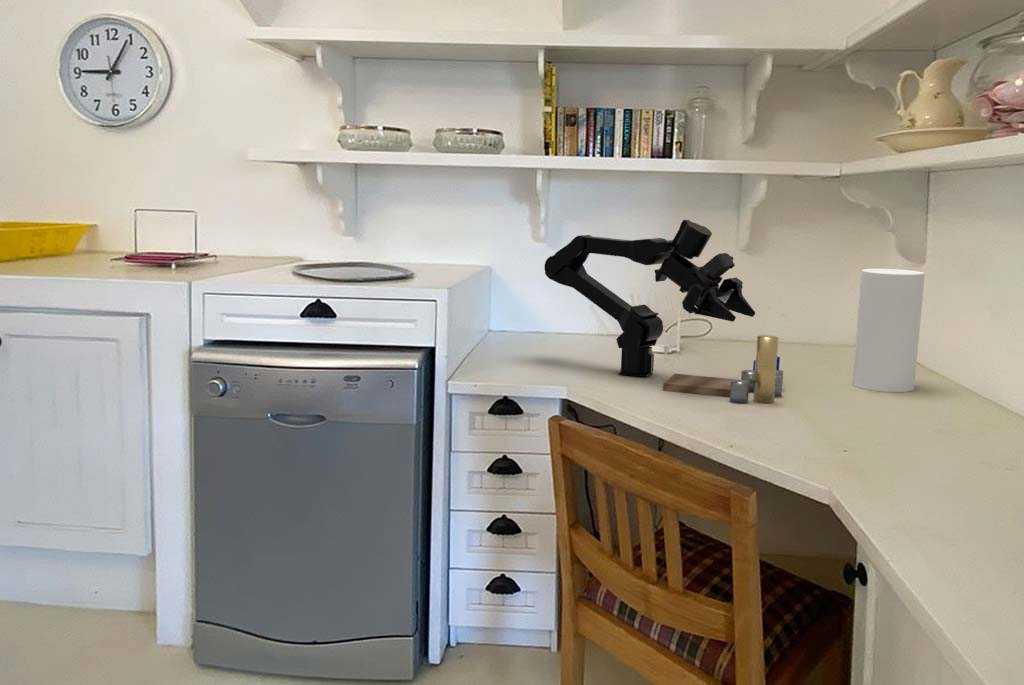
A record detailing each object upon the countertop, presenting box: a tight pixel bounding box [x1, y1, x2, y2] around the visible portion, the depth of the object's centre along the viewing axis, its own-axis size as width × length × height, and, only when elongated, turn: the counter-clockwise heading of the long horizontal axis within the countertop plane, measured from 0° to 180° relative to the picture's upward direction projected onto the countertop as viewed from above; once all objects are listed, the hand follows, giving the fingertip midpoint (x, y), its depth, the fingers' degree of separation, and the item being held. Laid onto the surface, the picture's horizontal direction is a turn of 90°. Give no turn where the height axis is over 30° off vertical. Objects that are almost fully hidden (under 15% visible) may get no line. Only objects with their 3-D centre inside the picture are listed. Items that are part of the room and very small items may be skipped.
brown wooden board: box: [662, 373, 739, 398], centre depth 194 cm, size 14×11×2 cm
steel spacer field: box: [729, 369, 784, 404], centre depth 189 cm, size 9×18×4 cm, turn 158°
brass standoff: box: [752, 334, 779, 404], centre depth 183 cm, size 4×4×13 cm
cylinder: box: [852, 268, 926, 393], centre depth 198 cm, size 12×12×25 cm
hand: (744, 317), depth 190 cm, fingers open, 9 cm apart
